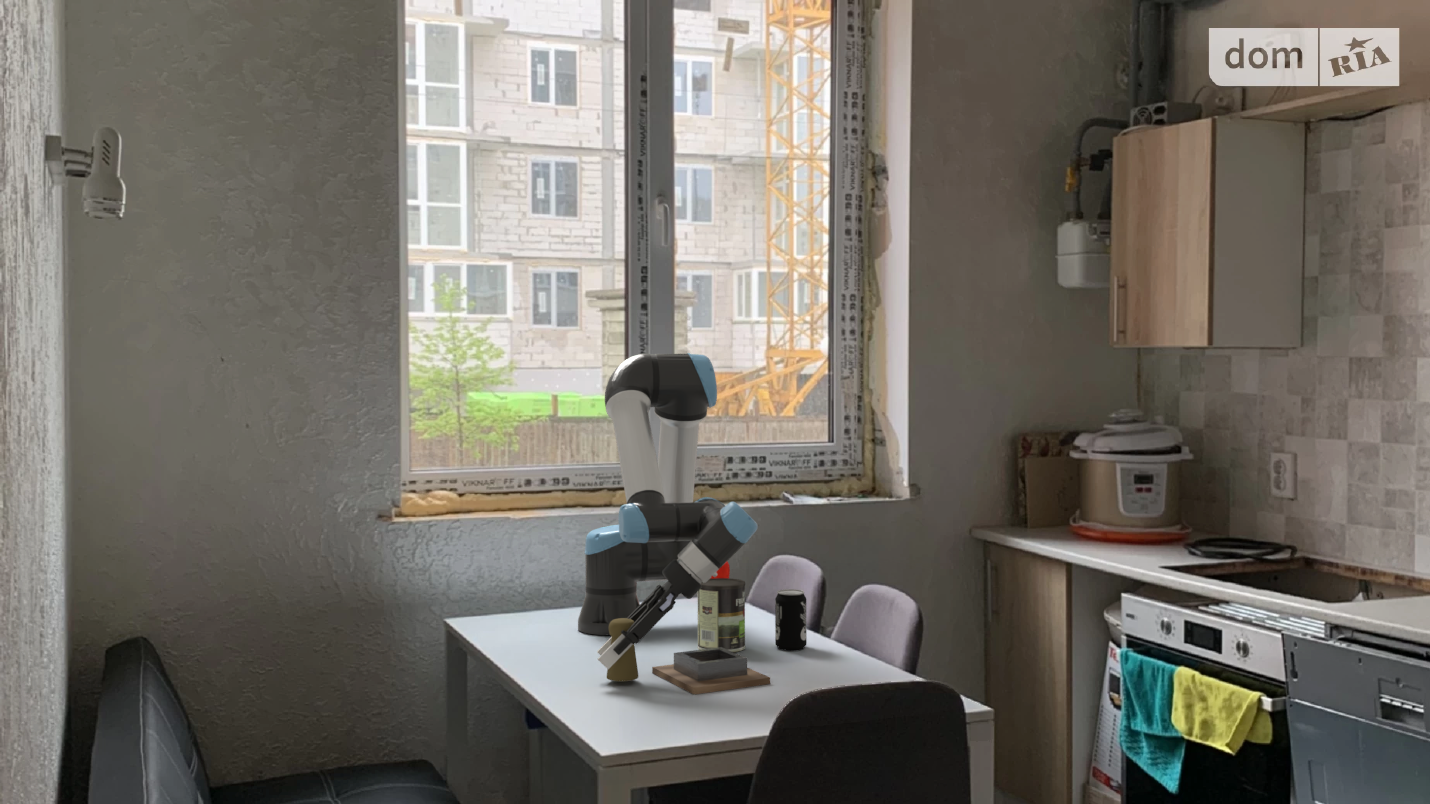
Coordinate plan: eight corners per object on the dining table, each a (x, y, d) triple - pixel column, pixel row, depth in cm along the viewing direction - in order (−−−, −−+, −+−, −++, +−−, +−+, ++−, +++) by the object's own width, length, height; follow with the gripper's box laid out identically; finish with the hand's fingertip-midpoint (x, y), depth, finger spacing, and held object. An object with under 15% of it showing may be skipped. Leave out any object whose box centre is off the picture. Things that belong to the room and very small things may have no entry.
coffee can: (749, 643, 262) (749, 578, 262) (740, 654, 252) (740, 586, 252) (702, 641, 264) (702, 577, 264) (692, 652, 254) (691, 585, 254)
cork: (643, 674, 231) (643, 616, 231) (631, 682, 225) (630, 623, 225) (614, 671, 233) (614, 614, 233) (601, 679, 227) (600, 621, 227)
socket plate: (652, 673, 236) (652, 650, 236) (725, 663, 244) (724, 641, 244) (693, 694, 220) (693, 670, 220) (770, 683, 228) (770, 660, 228)
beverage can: (797, 652, 253) (797, 595, 253) (769, 649, 257) (769, 592, 257) (811, 646, 259) (811, 590, 259) (784, 643, 262) (784, 587, 262)
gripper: (708, 593, 221) (618, 686, 220) (698, 576, 239) (615, 662, 238) (679, 565, 221) (588, 658, 219) (671, 550, 239) (587, 635, 237)
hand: (602, 660), depth 229 cm, fingers closed on cork, 5 cm apart
